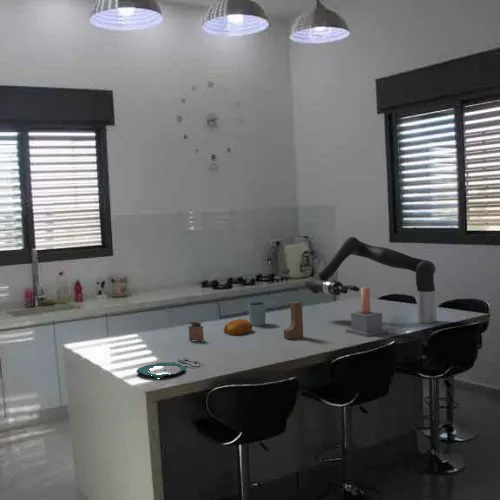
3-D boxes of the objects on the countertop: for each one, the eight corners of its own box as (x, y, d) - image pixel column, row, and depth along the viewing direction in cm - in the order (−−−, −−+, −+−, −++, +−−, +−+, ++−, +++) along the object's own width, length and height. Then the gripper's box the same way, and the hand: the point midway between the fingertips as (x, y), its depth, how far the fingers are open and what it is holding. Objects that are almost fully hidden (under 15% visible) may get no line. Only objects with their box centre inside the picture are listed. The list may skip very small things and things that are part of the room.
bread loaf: (256, 335, 340) (258, 320, 340) (236, 336, 329) (237, 321, 329) (237, 331, 350) (239, 316, 350) (217, 332, 339) (218, 317, 339)
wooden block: (288, 339, 317) (287, 304, 315) (283, 338, 321) (282, 302, 319) (303, 337, 321) (302, 302, 320) (298, 335, 325) (297, 300, 324)
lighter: (205, 340, 324) (204, 320, 323) (202, 341, 321) (201, 322, 320) (190, 339, 327) (189, 320, 326) (187, 341, 324) (186, 321, 323)
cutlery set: (128, 374, 267) (127, 369, 267) (183, 360, 289) (182, 355, 289) (157, 383, 254) (156, 377, 253) (212, 367, 275) (212, 362, 275)
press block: (367, 327, 337) (367, 309, 336) (388, 332, 324) (387, 312, 324) (346, 332, 329) (345, 312, 328) (366, 336, 316) (365, 317, 315)
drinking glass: (246, 325, 355) (245, 304, 354) (252, 322, 364) (251, 301, 363) (263, 326, 351) (262, 305, 350) (269, 322, 360) (268, 302, 359)
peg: (366, 325, 330) (365, 287, 328) (372, 326, 326) (371, 287, 324) (360, 326, 327) (359, 288, 326) (366, 327, 324) (364, 288, 322)
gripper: (322, 282, 345) (342, 285, 331) (342, 279, 352) (362, 281, 339) (322, 296, 345) (343, 299, 332) (342, 292, 353) (363, 295, 340)
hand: (352, 290), depth 335 cm, fingers open, 8 cm apart
